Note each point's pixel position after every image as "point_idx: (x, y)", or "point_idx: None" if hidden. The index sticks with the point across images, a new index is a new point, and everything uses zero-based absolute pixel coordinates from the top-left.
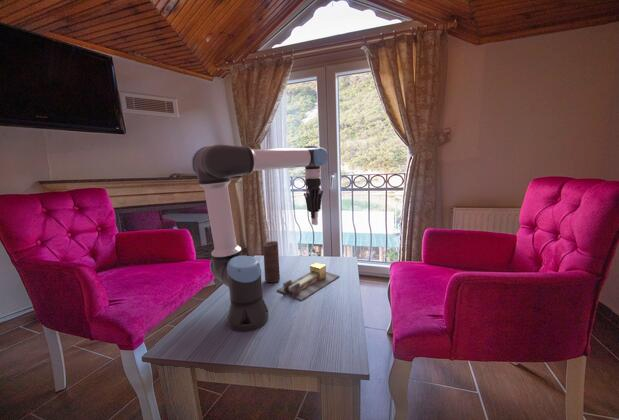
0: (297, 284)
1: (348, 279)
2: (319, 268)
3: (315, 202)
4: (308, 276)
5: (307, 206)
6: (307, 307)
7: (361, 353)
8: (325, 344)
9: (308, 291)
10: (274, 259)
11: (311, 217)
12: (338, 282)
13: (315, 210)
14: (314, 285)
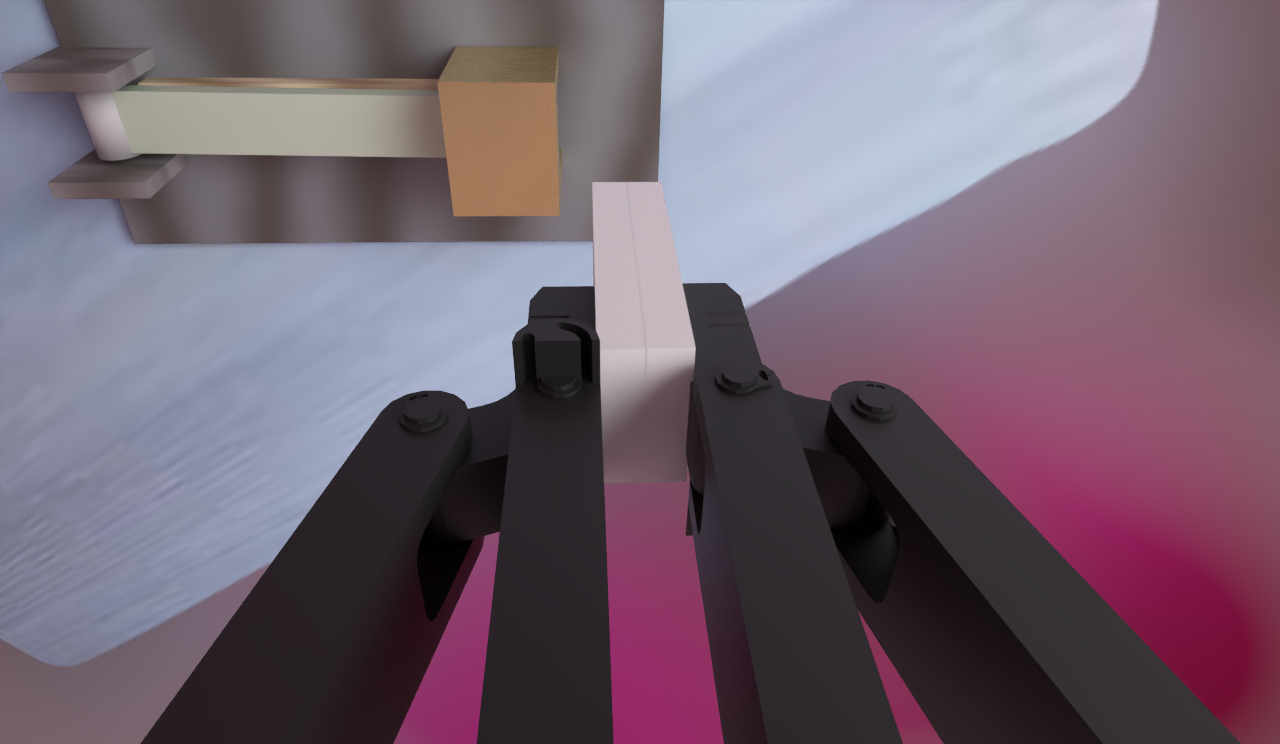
0: (120, 197)
1: None
2: (453, 211)
3: (726, 706)
4: (365, 111)
5: (305, 549)
6: (127, 318)
7: (124, 638)
8: (24, 543)
9: (257, 206)
10: None
11: (531, 314)
12: (563, 281)
13: (692, 455)
14: (368, 179)
